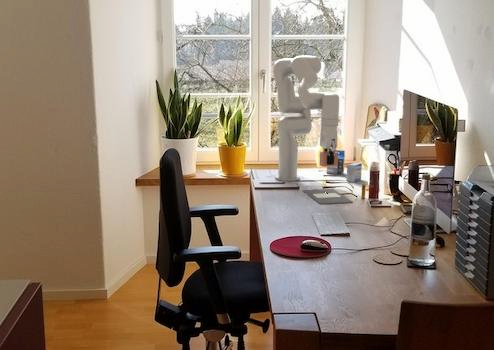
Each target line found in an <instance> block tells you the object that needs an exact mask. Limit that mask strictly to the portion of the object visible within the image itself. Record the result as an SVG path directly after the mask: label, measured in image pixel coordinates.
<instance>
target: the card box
mask: <svg viewBox="0 0 494 350" xmlns="http://www.w3.org/2000/svg"><path fill="white" fill-rule="evenodd" d="M338 154H339V153H338V152H336V151H335V155H334V164H333V165H327V156H328V151H325V152H323V151H319V166H321V167H323V168H324V167H327V166H338Z"/></svg>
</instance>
